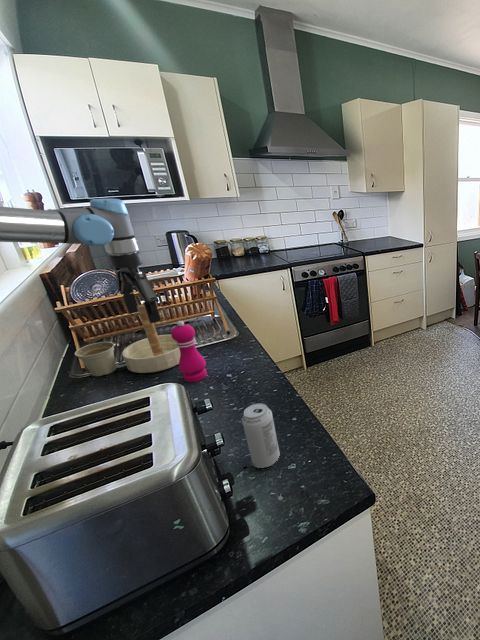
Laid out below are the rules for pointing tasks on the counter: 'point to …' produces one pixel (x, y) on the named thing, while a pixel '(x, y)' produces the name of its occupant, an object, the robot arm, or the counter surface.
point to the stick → (150, 331)
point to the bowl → (151, 355)
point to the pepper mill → (189, 353)
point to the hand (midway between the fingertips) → (144, 317)
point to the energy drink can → (260, 435)
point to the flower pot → (98, 358)
